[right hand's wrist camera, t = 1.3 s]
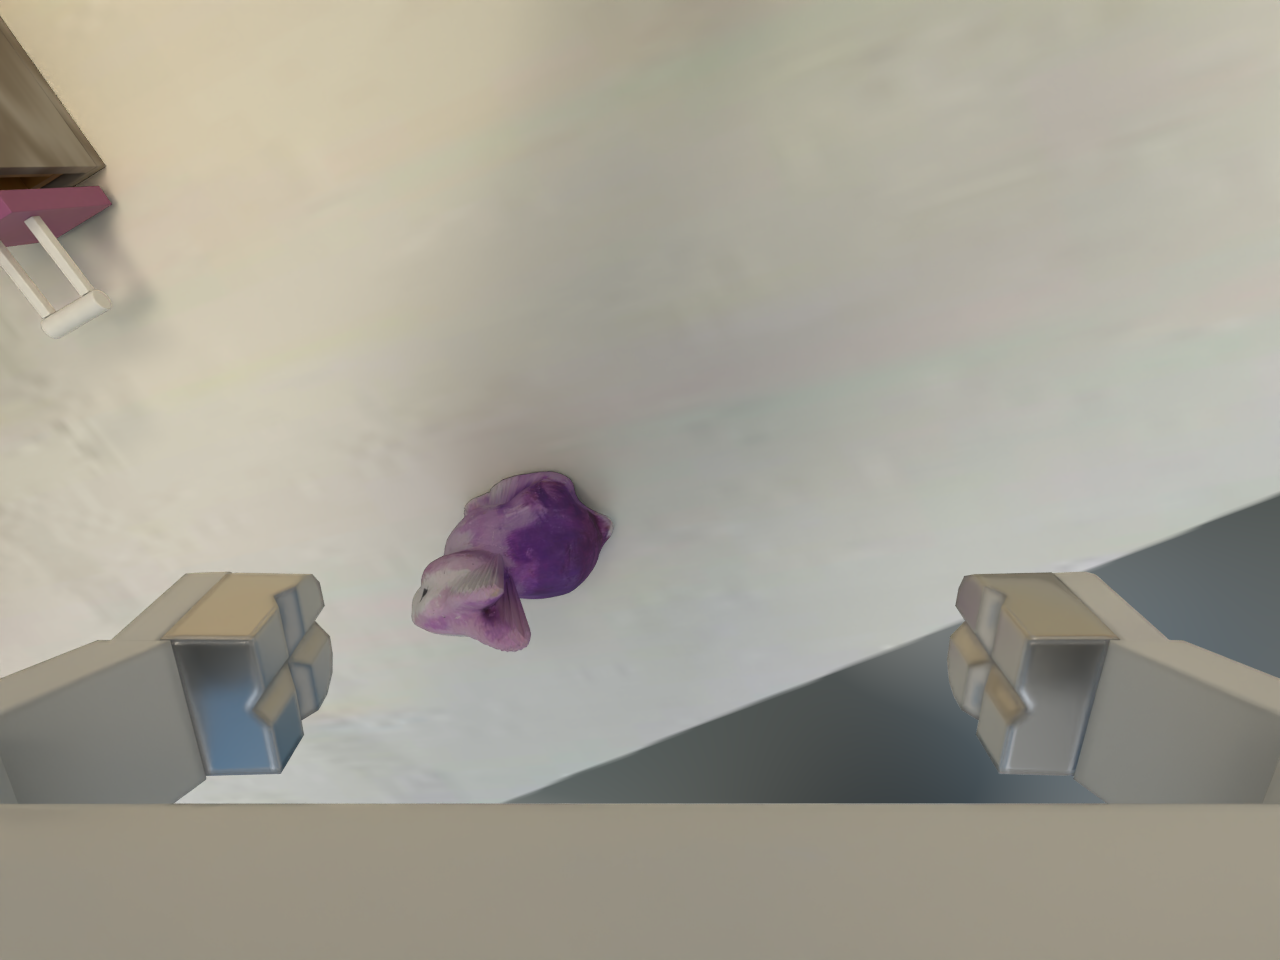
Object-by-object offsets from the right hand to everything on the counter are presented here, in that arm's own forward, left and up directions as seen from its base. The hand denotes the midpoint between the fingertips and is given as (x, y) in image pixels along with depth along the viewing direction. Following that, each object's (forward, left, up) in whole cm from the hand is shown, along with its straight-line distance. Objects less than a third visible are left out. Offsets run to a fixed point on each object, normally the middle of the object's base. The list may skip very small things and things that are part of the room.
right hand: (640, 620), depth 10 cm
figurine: (+18, -10, -43) cm, 48 cm away
